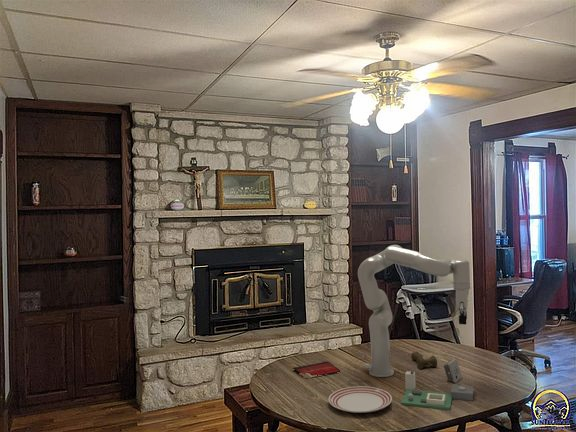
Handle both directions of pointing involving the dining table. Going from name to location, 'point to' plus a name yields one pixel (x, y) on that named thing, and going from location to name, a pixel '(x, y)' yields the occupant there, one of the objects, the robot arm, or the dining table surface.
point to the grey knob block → (462, 392)
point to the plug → (410, 380)
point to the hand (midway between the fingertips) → (463, 321)
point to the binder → (318, 369)
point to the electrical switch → (453, 371)
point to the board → (427, 399)
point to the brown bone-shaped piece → (423, 360)
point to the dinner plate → (360, 399)
